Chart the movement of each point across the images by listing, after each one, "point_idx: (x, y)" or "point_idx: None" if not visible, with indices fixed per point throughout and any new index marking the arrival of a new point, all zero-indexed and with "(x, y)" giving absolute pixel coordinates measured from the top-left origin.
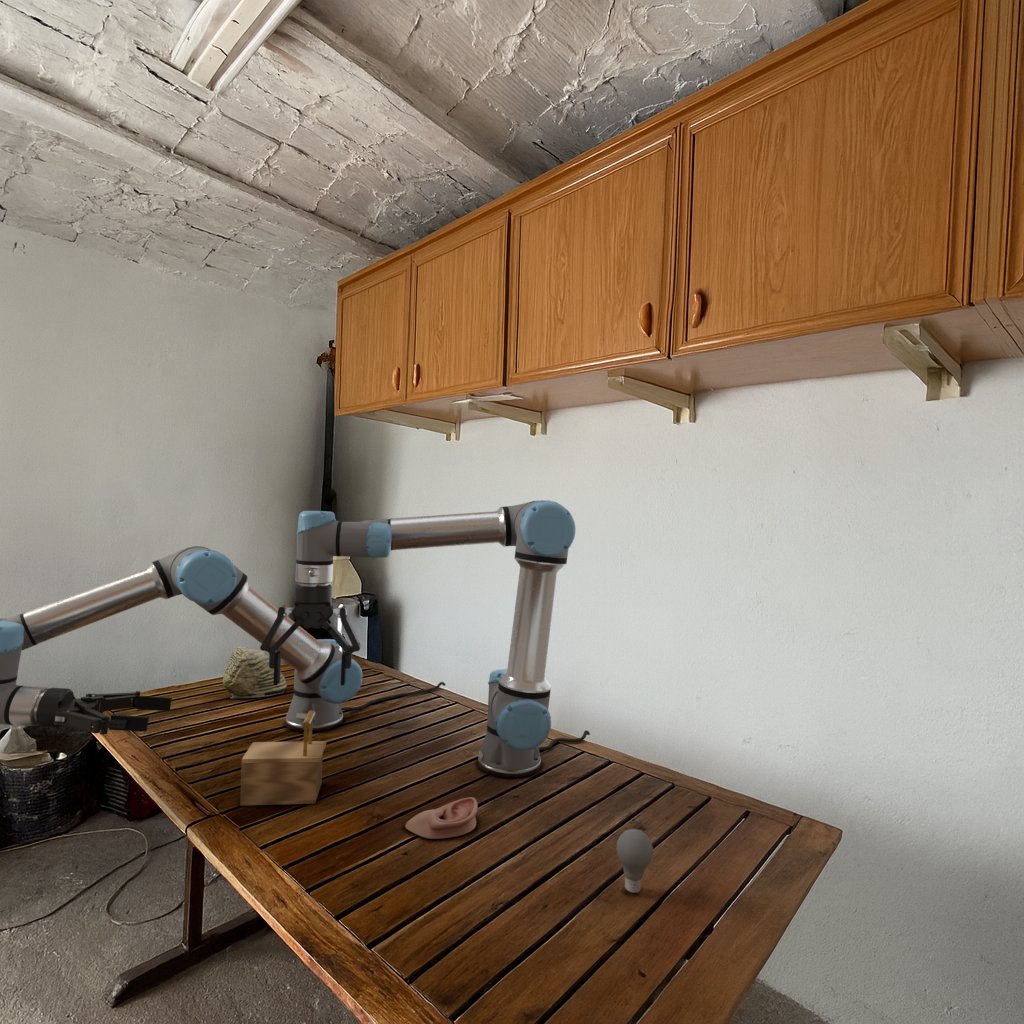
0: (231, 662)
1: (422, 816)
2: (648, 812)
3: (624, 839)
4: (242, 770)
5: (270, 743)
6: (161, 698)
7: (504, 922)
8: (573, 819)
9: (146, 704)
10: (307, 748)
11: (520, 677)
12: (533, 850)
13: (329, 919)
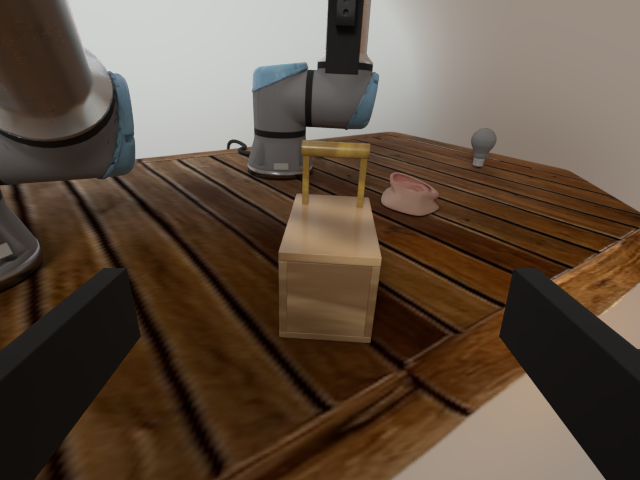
0: None
1: (414, 200)
2: (375, 151)
3: (490, 133)
4: (378, 279)
5: (293, 233)
6: (95, 299)
7: (539, 197)
8: (388, 166)
9: (42, 416)
10: (327, 204)
11: (365, 50)
12: (439, 180)
13: (604, 255)
